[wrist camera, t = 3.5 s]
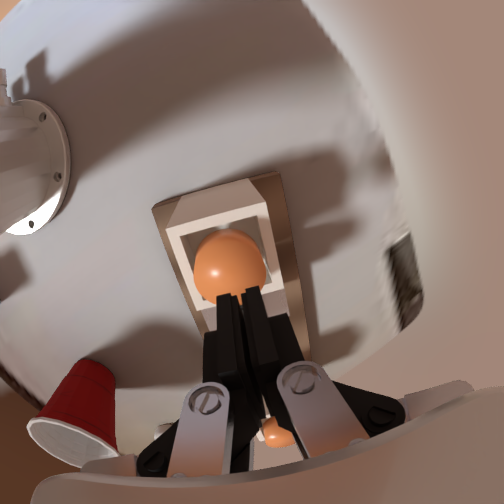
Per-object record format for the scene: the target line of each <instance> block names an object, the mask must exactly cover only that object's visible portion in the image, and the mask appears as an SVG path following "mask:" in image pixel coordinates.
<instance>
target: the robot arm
mask: <svg viewBox="0 0 504 504" xmlns="http://www.w3.org/2000/svg"><path fill="white" fill-rule="evenodd" d="M6 87H7V80H6V70H5V69H0V235H1V234H2V233H4V232H5V231H7V232H9V233H13V234H16V235H27V234H31V233H34V232H35V231H37V230H39V229H41V228H42V227H43V226H45V225H46V224H47V223H49V222H50V221H51V219H52V218H53V217H54V216H55V215H56V213H57V212H58V210H59V208H60V206H61V205H62V202H63V200H64V197H65V195H66V192H67V187H68V183H69V178H70V167H71V161H70V148H69V142H68V137H67V134H66V131H65V128H64V126H63V124H62V122H61V120H60V118H59V116H58V115H57V114H56V113H55V112H54V111H53V109H52V108H51V107H49V106H48V105H46V104H45V103H43V102H40V101H37V100H29V99H23V100H17V101H14V102H11V97H8V96H7V91H6ZM61 176H62V177H61ZM245 291H246V293H242V294H241V300H242V306H243V313H244V316H243V313H242V310H241V307H240V304H239V300H238V297H237V295H234V296H232V295H231V293H226V294H222V295H218V296H216V320H217V330H214V331H210V332H205V333H204V346H203V383H202V384H199V385H197V386H195V387H194V388H192V389H191V390H190V391H189V392H188V394H187V395H186V397H185V399H184V402H183V406H182V411H181V415H180V418H179V419H178V420H177V421H176V422H175V423H174V424H173V425H172V426H171V427H169V428H168V429H167V430H166V431H165V432H164V433H163V434H162V435H160V436H159V437H158V438H157V439H156V440H155V441H153V442H152V443H151V444H150V445H149V446H148V447H146V448H145V449H144V450H143V451H142V452H141V453H140V454H139V455H137V456H136V455H135V454H128V455H123V456H118V457H112V458H105V459H98V460H92V461H89V462H87V463H85V464H84V465H83V466H82V468H81V470H80V473H66V474H60V475H56V476H52V477H49V478H47V479H46V480H43V481H42V482H41V483H39V485H38V486H37V487H36V489H35V491H34V494H33V496H32V500H31V503H30V504H504V386H500V387H499V386H498V387H489V388H484V389H480V390H476V391H474V389H473V388H472V386H471V385H470V384H469V383H467V382H466V381H461V380H457V381H452V382H449V383H446V384H443V385H439V386H436V387H433V388H429V389H426V390H422V391H419V392H415V393H411V394H407V395H405V396H404V398H401V399H398V400H396V399H393V398H391V397H388V396H384V395H380V394H376V393H372V392H369V391H365V390H362V389H358V388H355V387H351V386H348V385H345V384H342V383H338V382H335V381H332V380H331V379H330V378H329V376H328V375H327V373H326V372H325V370H324V369H323V368H322V367H321V366H320V365H319V364H317V363H315V362H311V361H305V359H304V357H303V354H302V351H301V349H300V346H299V343H298V340H297V338H296V335H295V332H294V330H293V327H292V324H291V322H290V319H289V316H288V314H287V313H283V314H279V315H275V316H272V317H268V318H267V314H266V310H265V306H264V303H263V299H262V295H261V292H260V288H259V285H258V286H254V287H250V288H246V289H245ZM262 395H263V396H262ZM263 398H264V401H265V403H266V406H267V408H268V411H269V414H270V416H271V417H274V416H275V418H276V421H277V424H278V426H279V427H281V428H283V429H285V430H288V431H290V432H291V434H292V437H293V439H294V441H295V443H296V445H297V447H298V449H299V452H300V454H301V456H302V458H303V460H302V461H298V462H294V463H290V464H285V465H281V466H277V467H271V468H266V469H260V470H254V471H253V464H254V463H253V462H254V439H253V437H254V436H255V435H256V434H257V433H258V432H259V430H260V429H259V428H261V427H262V421H261V419H265V418H266V412H265V407H264V402H263Z"/></svg>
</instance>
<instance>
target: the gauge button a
mask: <svg viewBox="0 0 504 504" xmlns="http://www.w3.org/2000/svg"><path fill="white" fill-rule="evenodd" d="M193 278H194V283H195V286H196V288H197V290H198V292H199V293H200V294H201V296H202V297H204V298H205V299H206V300H207V301H209V302H211V303H213V304H216V296H218V295H222V294H226V293H231V295H232V296H234V295H237V297H238V300H239V304H240V305H242V300H241V294H242V293H246V291H245V289H246V288H250V287H254V286H258V285H259V288H260V291H261V290H262V288H263V286H264V284H265V280H266V267H265V264H264V261H263V258H262V256H261V253H260V251H259V248H258V246H257V244H256V242H255V241H254V240H253V238H252V237H250V236H249V235H248V234H246V233H245V232H243V231H240V230H237V229H230V228H227V229H220V230H217V231H214V232H212V233H210V234H209V235H207V236H206V237H205V238H204V239H203V240H202V241H201V243H200V244H199V246H198V248H197V251H196V256H195V264H194V273H193Z"/></svg>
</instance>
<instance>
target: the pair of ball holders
mask: <svg viewBox="0 0 504 504" xmlns="http://www.w3.org/2000/svg"><path fill="white" fill-rule="evenodd" d="M227 228H230V229H237V230H240V231H243V232H245V233H246V234H248V235H249V236H250V237H252V238H253V240H254V241H255V242H256V244H257V246H258V248H259V251H260V253H261V256H262V258H263V261H264V264H265V267H266V280H265V284H264V286H263V288H262V290H261V291H260V292H261V295H262V294H265V293H269V292H273V291H276V290H280V289H284V286H283V281H282V276H281V271H280V266H279V261H278V256H277V252H276V247H275V242H274V238H273V233H272V228H271V224H270V219H269V214H268V210H267V205H266V201H265V200H264V199H263V197H262V196H261V195H260V193H259V192H258V191H257V189H256V188H255V187H254V186H253V184H252V183H251V182H250V180H249V179H248V178H246V179H242V180H238V181H234V182H230V183H226V184H222V185H219V186H215V187H211V188H208V189H204V190H201V191H197V192H194V193H190V194H187V195H183V196H181V198H180V200H179V202H178V204H177V206H176V208H175V210H174V212H173V214H172V216H171V218H170V221H169V223H168V225H167V227H166V232H167V235H168V238H169V240H170V243H171V246H172V249H173V251H174V254H175V257H176V260H177V262H178V265H179V267H180V270H181V273H182V275H183V278H184V280H185V283H186V285H187V288H188V290H189V293H190V295H191V298H192V300H193V303H194V305H195V308H196V310H197V311H199V310H203V309H207V308H211V307H215V306H216V304H213V303H211V302H209V301H207V300H206V299H205V298H204V297H202V296H201V294H200V293H199V292H198V290H197V288H196V286H195V283H194V278H193V273H194V264H195V256H196V251H197V248H198V246H199V244H200V243H201V241H202V240H203V239H204V238H205V237H206V236H207V235H209V234H210V233H212V232H214V231H217V230H220V229H227ZM262 396H263V395H262ZM263 402H264V407H265V412H266V418H265V419H261V421H262V427H261V428H259V429H260V430H259V432H258V433H257V434H256V435H257V437H258V439H259V441H264V440H265V436H264V431H263V423H264V422H265V421H266V420H268V419H269V418H271V416H270V414H269V411H268V408H267V406H266V403H265V401H264V398H263Z"/></svg>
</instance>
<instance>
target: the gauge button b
mask: <svg viewBox="0 0 504 504" xmlns="http://www.w3.org/2000/svg"><path fill="white" fill-rule="evenodd" d="M263 431H264V436H265V441H266V444H267V445H268V446H270V447H286V446H289V445H292V444H295V441H294V439H293V437H292V434H291V432H290V431H288V430H285V429H283V428H281V427H279V426H278V424H277V421H276V418H275V416H274V417H271V418H269V419H268V420H266V421H265V422H264V423H263Z"/></svg>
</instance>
